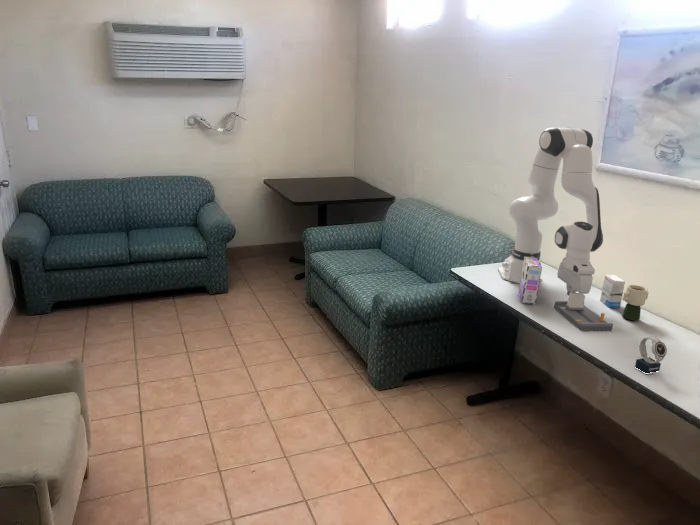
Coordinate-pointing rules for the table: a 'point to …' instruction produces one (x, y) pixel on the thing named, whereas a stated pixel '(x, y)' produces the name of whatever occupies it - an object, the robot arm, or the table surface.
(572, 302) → the fader tab
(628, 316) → the character mug
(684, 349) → the table surface
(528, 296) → the candy box
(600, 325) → the fader console
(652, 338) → the watch
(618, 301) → the ink box
